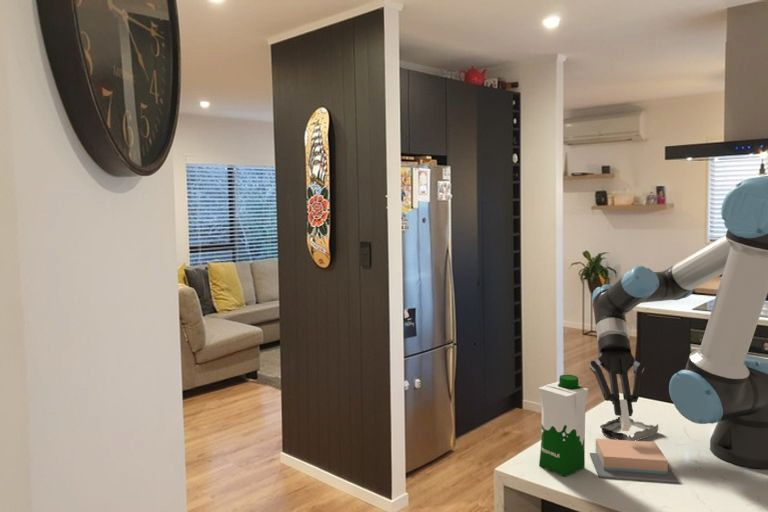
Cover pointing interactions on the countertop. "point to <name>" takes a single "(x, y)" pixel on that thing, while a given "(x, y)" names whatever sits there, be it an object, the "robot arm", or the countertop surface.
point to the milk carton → (563, 426)
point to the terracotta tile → (631, 456)
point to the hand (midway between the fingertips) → (626, 428)
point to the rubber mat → (632, 473)
